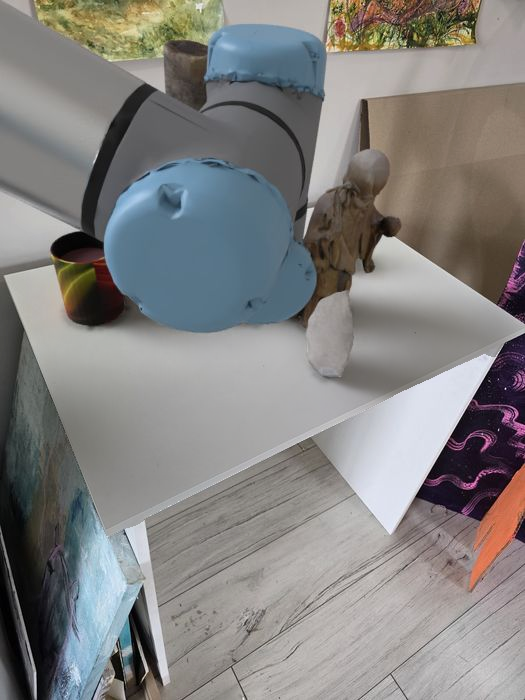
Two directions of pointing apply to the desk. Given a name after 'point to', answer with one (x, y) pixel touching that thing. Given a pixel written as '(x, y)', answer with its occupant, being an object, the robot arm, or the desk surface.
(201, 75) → the candle
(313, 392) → the desk surface
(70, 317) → the mug
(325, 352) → the stone tool
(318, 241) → the sculpture
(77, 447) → the desk surface
